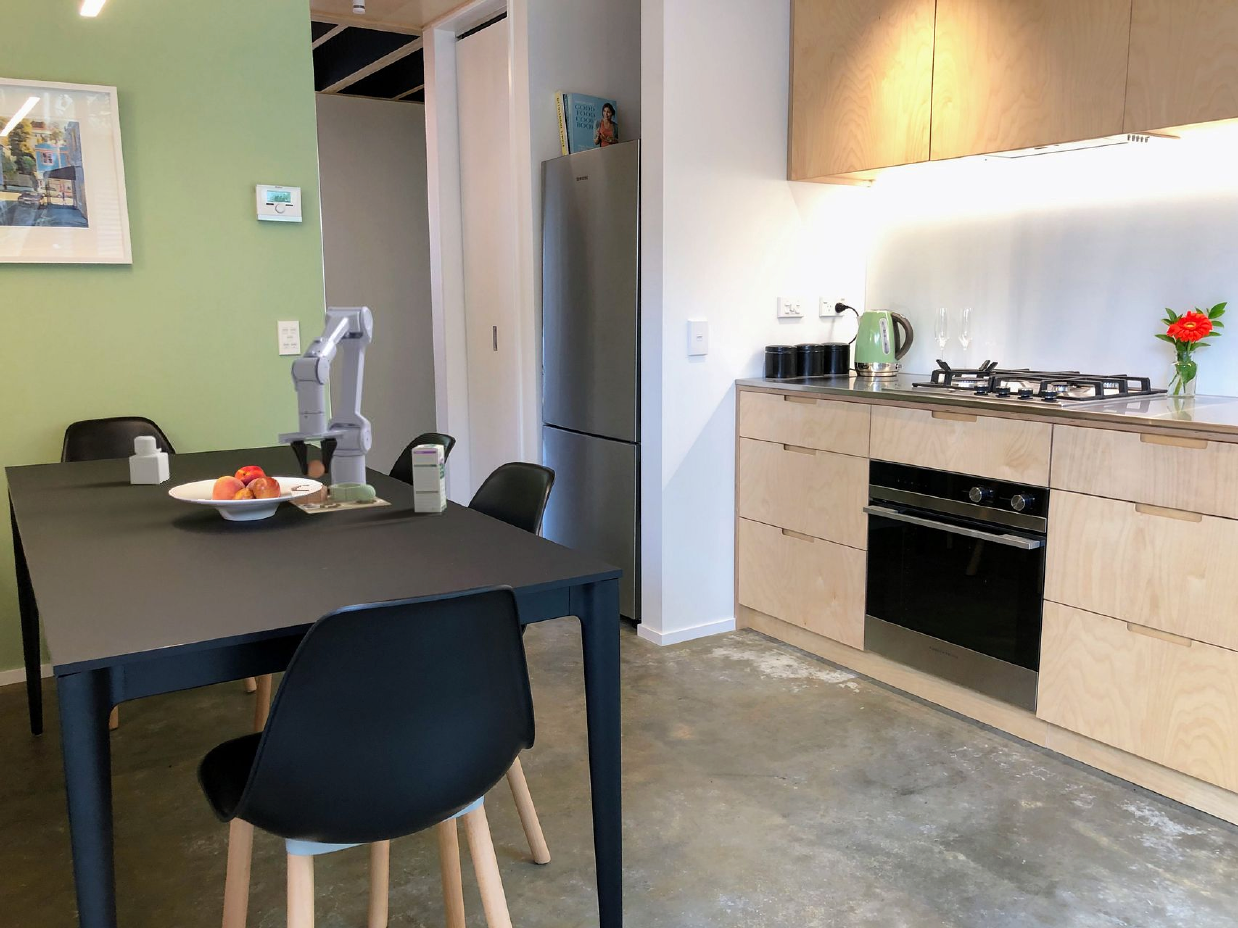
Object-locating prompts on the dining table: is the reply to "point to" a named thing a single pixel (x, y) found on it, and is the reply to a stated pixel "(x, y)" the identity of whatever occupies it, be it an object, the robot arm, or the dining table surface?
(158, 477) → the medicine bottle
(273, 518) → the dining table surface
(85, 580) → the dining table surface
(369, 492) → the sage ball
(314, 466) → the terracotta ball
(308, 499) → the terracotta tube
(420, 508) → the syrup box
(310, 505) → the board
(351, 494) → the green octagonal ring
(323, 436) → the robot arm
